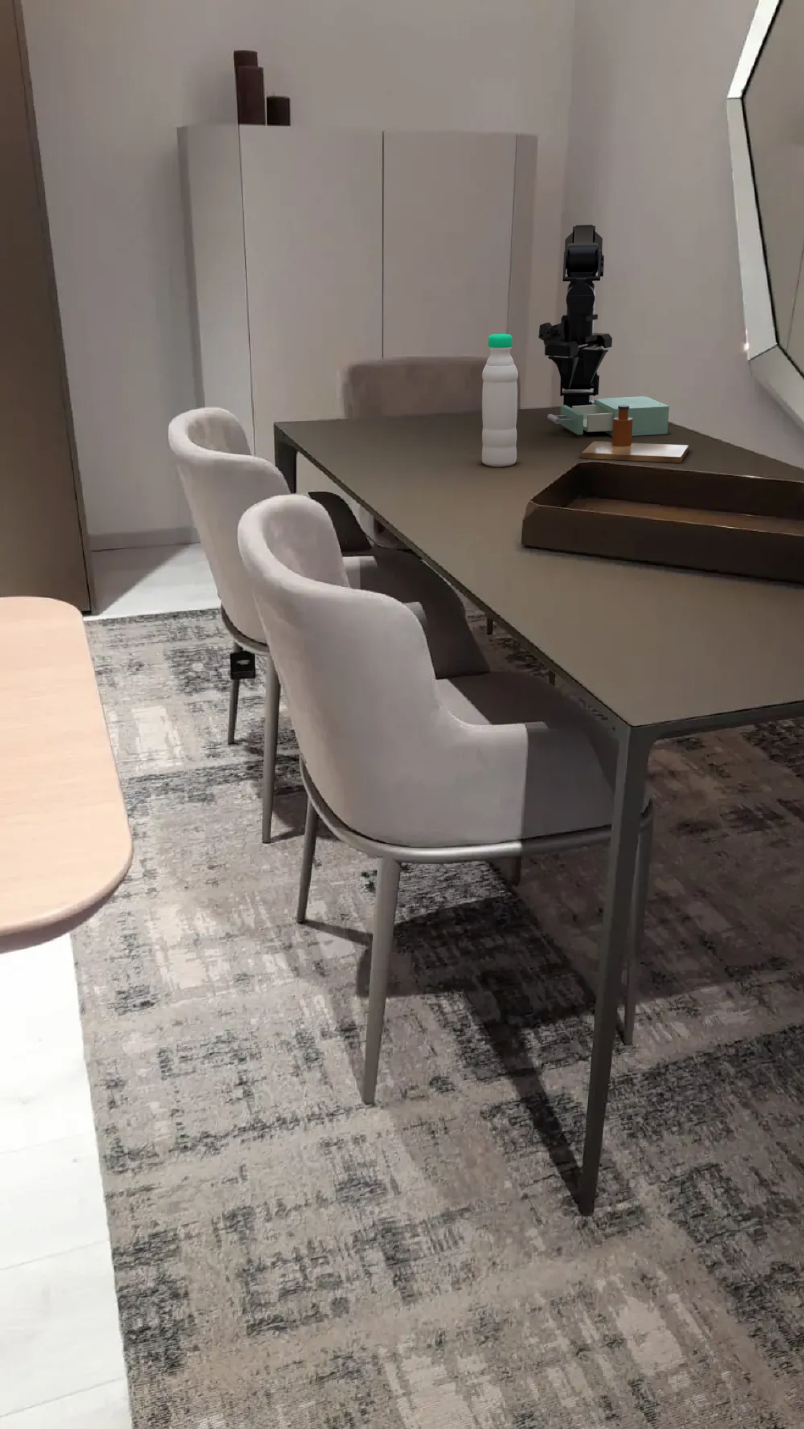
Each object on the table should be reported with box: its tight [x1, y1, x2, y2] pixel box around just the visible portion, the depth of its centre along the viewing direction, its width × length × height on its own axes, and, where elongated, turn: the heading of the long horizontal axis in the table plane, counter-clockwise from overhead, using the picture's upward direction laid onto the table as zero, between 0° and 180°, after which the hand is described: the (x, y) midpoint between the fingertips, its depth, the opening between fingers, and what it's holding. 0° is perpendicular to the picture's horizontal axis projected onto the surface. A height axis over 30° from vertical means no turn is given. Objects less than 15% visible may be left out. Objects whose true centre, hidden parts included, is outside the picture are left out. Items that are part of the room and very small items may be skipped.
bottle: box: [611, 405, 633, 447], centre depth 230 cm, size 4×4×8 cm
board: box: [581, 440, 689, 464], centre depth 228 cm, size 20×12×1 cm, turn 69°
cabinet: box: [593, 395, 670, 437], centre depth 252 cm, size 13×15×6 cm
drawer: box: [547, 404, 614, 435], centre depth 251 cm, size 16×13×4 cm
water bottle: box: [481, 333, 519, 468], centre depth 219 cm, size 7×7×25 cm
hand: (577, 386), depth 237 cm, fingers open, 9 cm apart
